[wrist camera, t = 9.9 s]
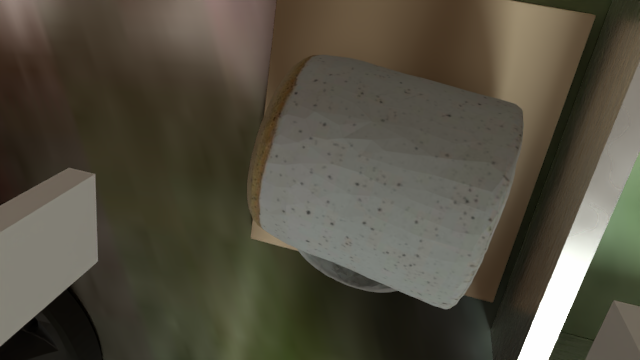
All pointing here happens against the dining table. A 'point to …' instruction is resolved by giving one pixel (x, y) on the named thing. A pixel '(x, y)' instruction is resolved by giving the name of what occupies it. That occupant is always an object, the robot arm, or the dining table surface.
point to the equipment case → (576, 199)
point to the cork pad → (451, 72)
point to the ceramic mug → (384, 175)
